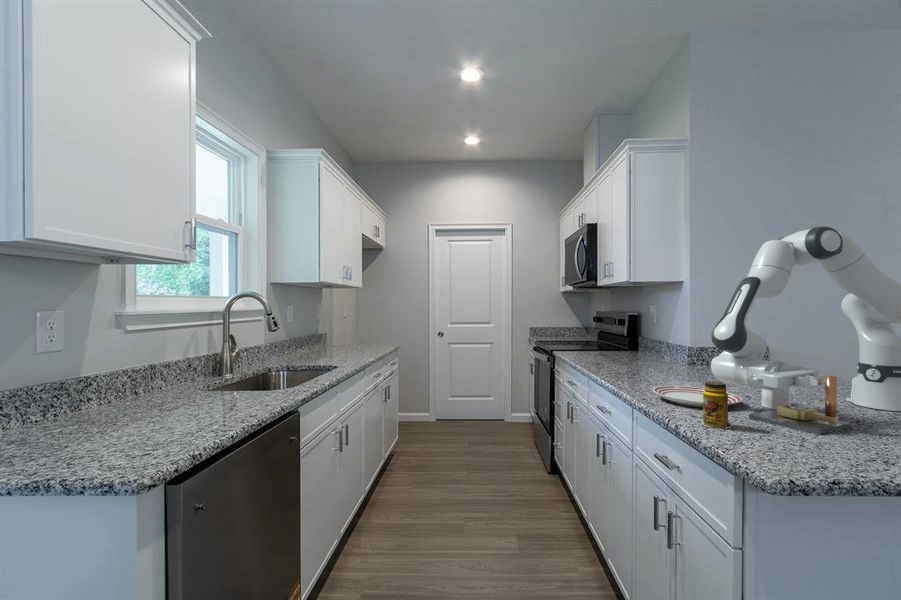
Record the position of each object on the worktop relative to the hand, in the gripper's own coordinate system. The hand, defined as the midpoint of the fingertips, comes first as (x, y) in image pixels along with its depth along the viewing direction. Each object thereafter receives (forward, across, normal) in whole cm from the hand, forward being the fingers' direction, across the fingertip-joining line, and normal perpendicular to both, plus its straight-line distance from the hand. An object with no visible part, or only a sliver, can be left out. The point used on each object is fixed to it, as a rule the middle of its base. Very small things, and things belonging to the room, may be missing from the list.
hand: (820, 382), depth 124 cm
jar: (-19, +16, +13) cm, 28 cm away
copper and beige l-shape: (-4, +3, +11) cm, 12 cm away
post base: (-6, +1, +13) cm, 14 cm away
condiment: (-15, -22, +13) cm, 30 cm away
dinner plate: (-37, 0, +13) cm, 39 cm away
